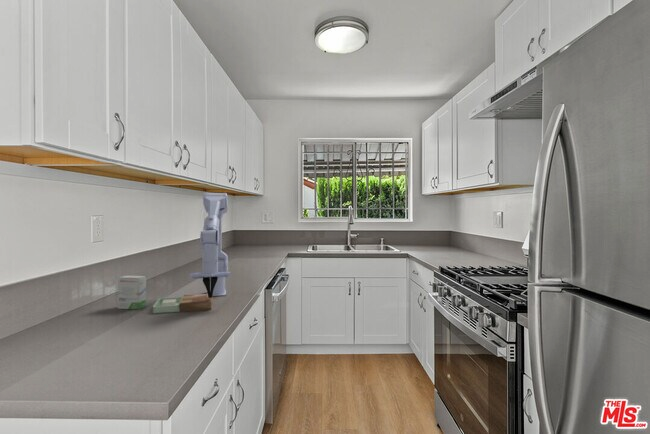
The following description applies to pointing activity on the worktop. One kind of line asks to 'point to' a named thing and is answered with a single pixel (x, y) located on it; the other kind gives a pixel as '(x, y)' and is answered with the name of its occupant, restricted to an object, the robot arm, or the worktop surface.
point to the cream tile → (169, 302)
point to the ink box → (131, 292)
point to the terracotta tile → (200, 297)
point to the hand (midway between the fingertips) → (210, 297)
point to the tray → (166, 309)
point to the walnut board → (194, 304)
